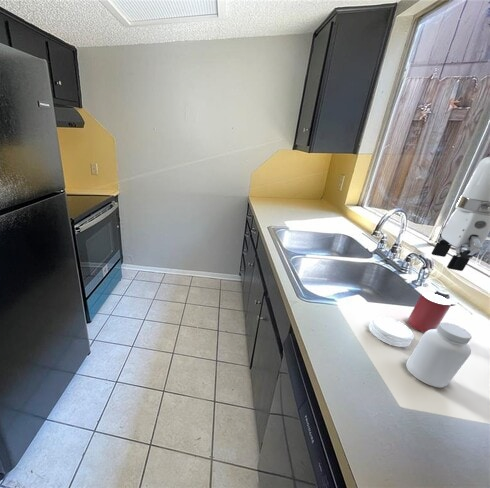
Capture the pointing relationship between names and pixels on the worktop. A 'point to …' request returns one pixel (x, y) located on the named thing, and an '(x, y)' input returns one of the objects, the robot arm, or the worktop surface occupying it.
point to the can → (428, 312)
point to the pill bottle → (440, 354)
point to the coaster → (391, 331)
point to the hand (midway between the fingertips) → (445, 262)
